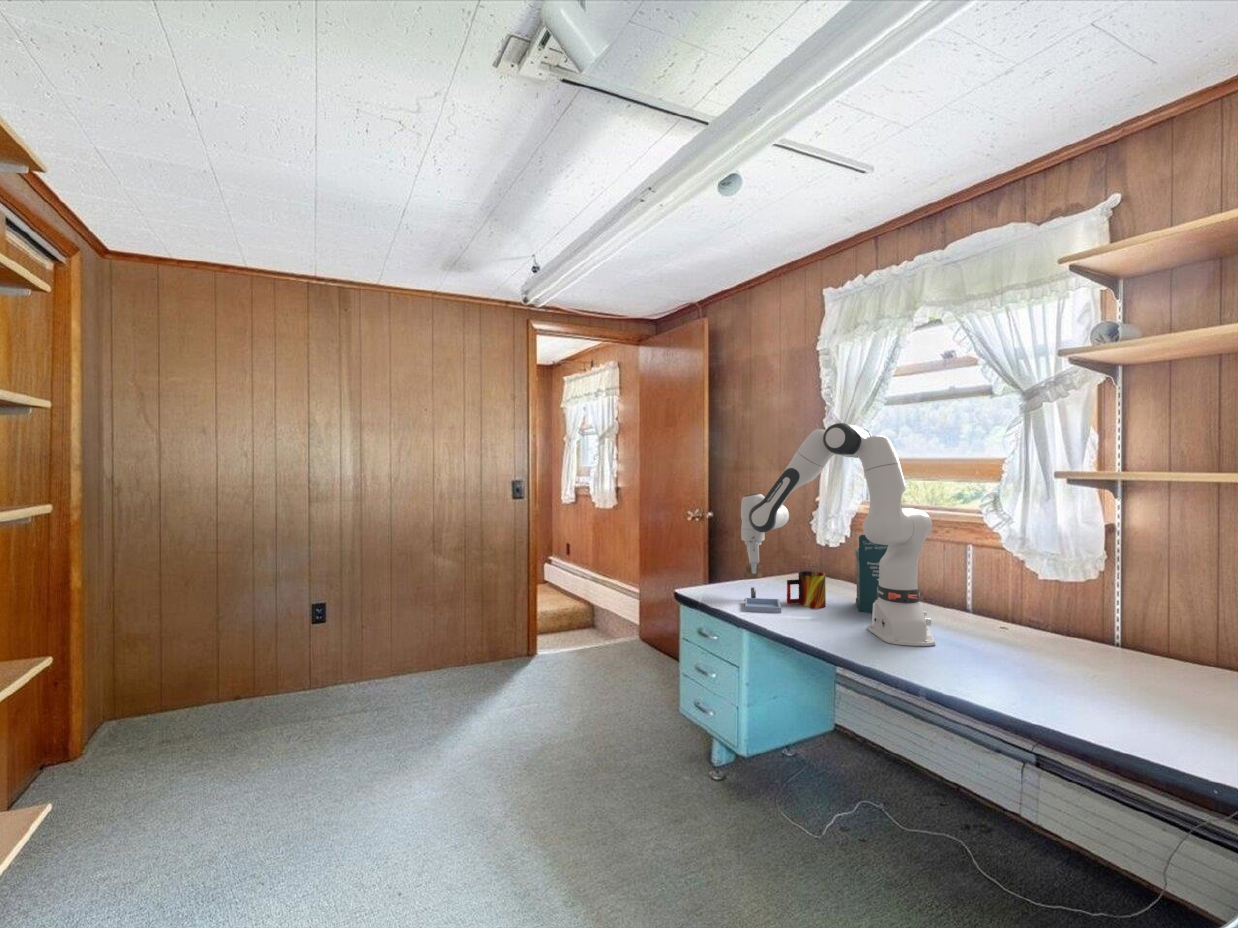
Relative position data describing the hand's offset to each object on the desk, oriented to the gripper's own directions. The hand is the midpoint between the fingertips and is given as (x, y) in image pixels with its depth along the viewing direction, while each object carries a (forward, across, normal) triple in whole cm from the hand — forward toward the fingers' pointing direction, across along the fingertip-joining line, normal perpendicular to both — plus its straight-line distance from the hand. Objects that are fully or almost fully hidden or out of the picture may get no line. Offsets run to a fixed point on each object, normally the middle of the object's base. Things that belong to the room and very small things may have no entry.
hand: (753, 571), depth 224 cm
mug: (+12, -3, -20) cm, 24 cm away
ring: (+2, 0, 0) cm, 2 cm away
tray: (+12, -10, -3) cm, 16 cm away
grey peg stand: (+12, 0, 0) cm, 12 cm away
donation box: (+13, -2, -45) cm, 47 cm away
